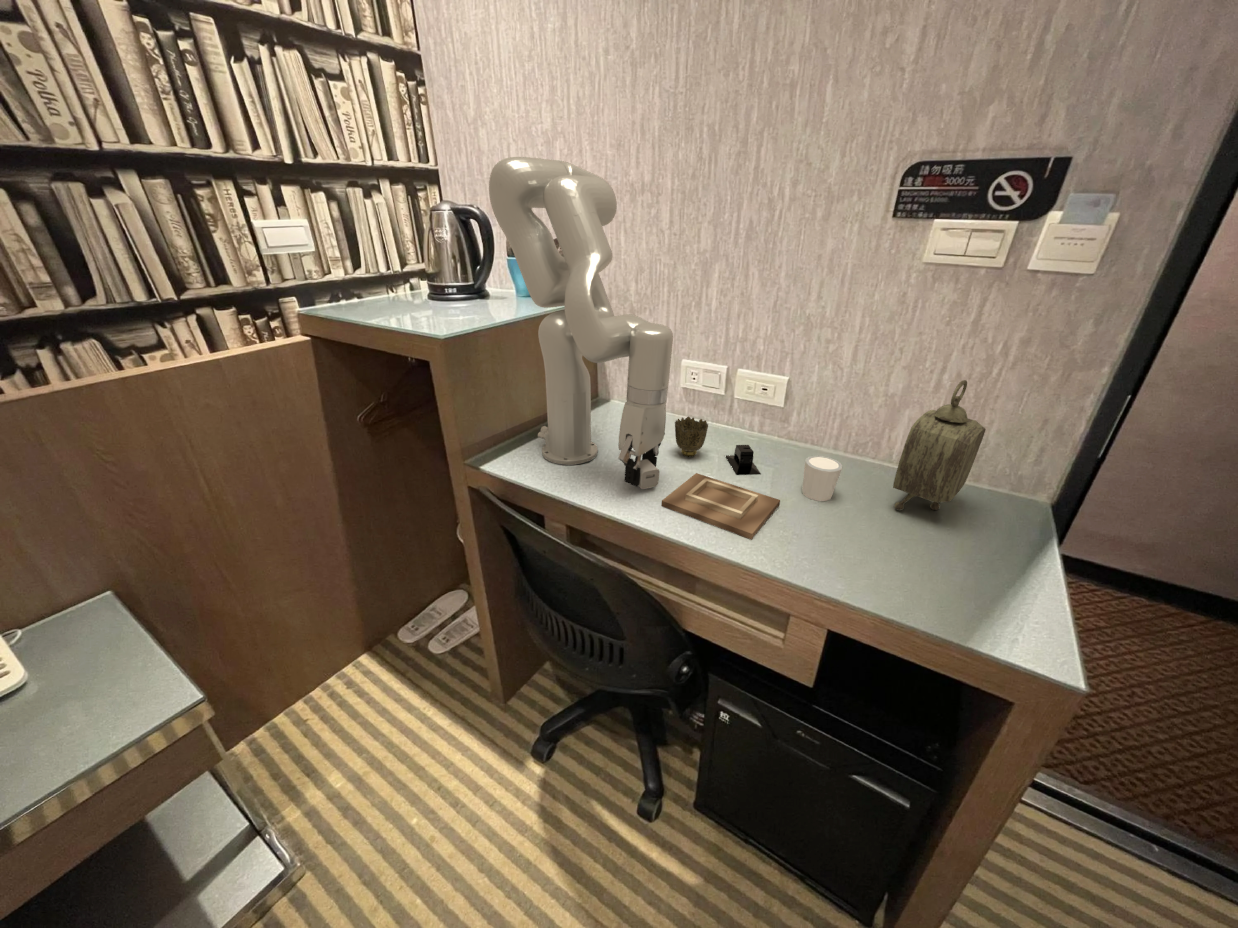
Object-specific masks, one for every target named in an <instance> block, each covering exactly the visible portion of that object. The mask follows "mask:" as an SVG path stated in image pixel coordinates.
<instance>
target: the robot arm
mask: <svg viewBox="0 0 1238 928" xmlns="http://www.w3.org/2000/svg"><path fill="white" fill-rule="evenodd" d="M488 195H489V200H490V205H491V210H492V212H493V214H494V217H495V219H496V222H497V223H498V225H499V227H500V229H501V230H502V232H503V234H504V236H505V237H506V239H507V242H508V243H509V246H510V248H511V250H512V252H513V255H514V258H515V260H516V263H517V266H518V268H519V270H520V274H521V277H522V278H523V282H524V284H525V288H526V289H527V291H528V294H529V296H530V298H531V300H532V302H533V303H534V304H535V305H537V306H538V307H540V308H544V309H545V308H546V309H548V308H549V309H550V308H557V307H564V310H558V311H555V312H552V313H549V314H548V315H546V316H545V317H544V318H543V319H542V320H541V322H540V324H539V326H538V332H537V333H538V335H537V337H538V342H539V346H540V350H541V355H542V359H543V365H544V374H545V375H544V377H545V391H546V413H547V416H546V417H547V426H546V425H544V426H543V425H542V426H541V428H540V431H539V432H538V433H537V438H540V439H543V440H544V442H545V443H544V445H543V447H542V448H541V452H542V453H541V454H542V457H543V458H544V459H545V460H546V461H549V462H550V463H554V464H556V465H567V466H568V465H569V466H571V465H581V464H584V463H588V462H590V461H592V460H593V459H595V458H596V457H597V455H598V453H599V452H598V446H597V444H596V443H594V442H593V441H592V426H591V425H592V420H591V419H592V417H591V416H592V415H591V413H592V411H591V409H592V403H591V402H592V400H591V399H592V397H591V395H592V394H591V393H592V391H591V388H592V387H591V375H590V373H589V369H588V368H587V366H586V364H585V362H584V360H583V358H585V359H586V360H587V361H589V362H590V363H595V364H600V363H605V362H610V361H612V360H617V359H620V358H627V357H628V364H627V365H628V369H627V382H626V383H627V384H626V397H625V399H626V401H625V402H624V406H623V409H622V413H621V419H620V425H619V426H620V427H619V434H618V444H617V445H618V450H619V451H620V452H619V453H618V457H617V459H618V460H619V461H621V463H623V465H624V467H625V469H624V482H625V483H627V484H629V485H631V486H634V487H639V482H640V469H641V468H638V467H639V464H640V460H645V459H648V460H649V461H650V462H651V463H652V464H653V465H654V466H655V467H656V468H657V462H658V461H657V460H658V456H659V453H660V451H659V449H660V447H661V446H662V442H663V440H664V438H665V434H666V432H665V431H666V421H667V402H668V393H669V392H668V391H669V383H670V372H671V362H672V354H673V353H672V352H673V344H674V343H673V342H674V333H673V331H672V329H671V328H670V327H669V326H666V325H664V324H660V323H655V322H650V321H648V320H646V319H644V318H642V317H640V316H638V315H635V314H630V313H628V314H627V313H626V314H619V315H616V316H615V313H614V311H613V308H612V306H611V303H610V299H609V298H608V295H607V292H606V289H605V287H604V283H603V281H602V279H601V275H600V273H601V272H602V271H604V270H605V269H606V268H607V267H608V266H609V265H610V264H611V262H612V260H613V250H612V248H611V245H610V244H609V241H608V238H607V235H606V233H605V230H604V228H603V227H605V226H607V225H609V224H611V222H612V221H613V220H614V218H615V217H616V214H617V208H618V203H617V196H616V193H615V190H614V189H613V187H612V185H611V184H610V183H609V181H607V180H606V179H605V178H603V177H601V176H599V175H597V174H595V173H593V172H590V171H588V170H586V169H583V168H581V167H580V166H577V165H575V164H573V163H570V162H567V161H562V160H557V159H547V158H539V157H538V158H537V157H527V156H512V157H507V158H503V159H501V160H499V161H498V162H496V163H495V165H494V166H493V167H492V169H491V172H490V176H489V181H488ZM533 208H534V209H545V211H546V214H547V217H548V218H549V219H548V220H549V222H550V224H551V227H552V230H553V232H554V234H555V237H556V240H557V242H558V245H559V247H560V249H561V252H562V254H561V253H560V252H559V250H558V249H557V246H556V242H555V240H554V238H553V234H552V233H551V231H550V229H549V228H548V226H547V224H545V223H544V221H543V220H542V219H541V218H539V217H538V216H537V215H536V214H535V212H533ZM632 456H633V457H635V458H634V459H633V458H631V457H632Z"/></svg>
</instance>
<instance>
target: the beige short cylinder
mask: <svg viewBox="0 0 1238 928" xmlns="http://www.w3.org/2000/svg"><path fill="white" fill-rule="evenodd" d="M842 470H843V464H842V463H841V462H840V461H839V460H838V459H837V460H836V459H834V458H832V457H829V456H824V455H811V456H807V458H805V460H804V471H803V478H802V479H803V480H802V489H801V492H802V494H803V495H804V497H806V498H808V499H809V500H813V501H816V502H817V501H818V502H826V501H830V500H831V499H832V497H833V495H834V491H835V489H836V486H837V484H838V481H839V478H840V476H841V473H842Z"/></svg>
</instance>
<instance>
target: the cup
mask: <svg viewBox="0 0 1238 928" xmlns="http://www.w3.org/2000/svg"><path fill="white" fill-rule="evenodd" d="M708 429H709V423H708V421H707V420H703V419H702V418H700V419H699V420H695V417H694V416H693V417H692V418H691V417H690V416H687V417H686V418H685V419H684V417H681V419H679V418H677V419H676V420H675V421H674V432H675V433H674V435H675V443H676V446H677V447H678V448H679V449H681V450H680V454H681V455H682V456H683V457H685V458H694V457H696V455H697V453H698V451H699V450H700V449H702V447H703V446H704V444H705V442H706V441H705V440H706V437H707V433H708Z"/></svg>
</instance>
